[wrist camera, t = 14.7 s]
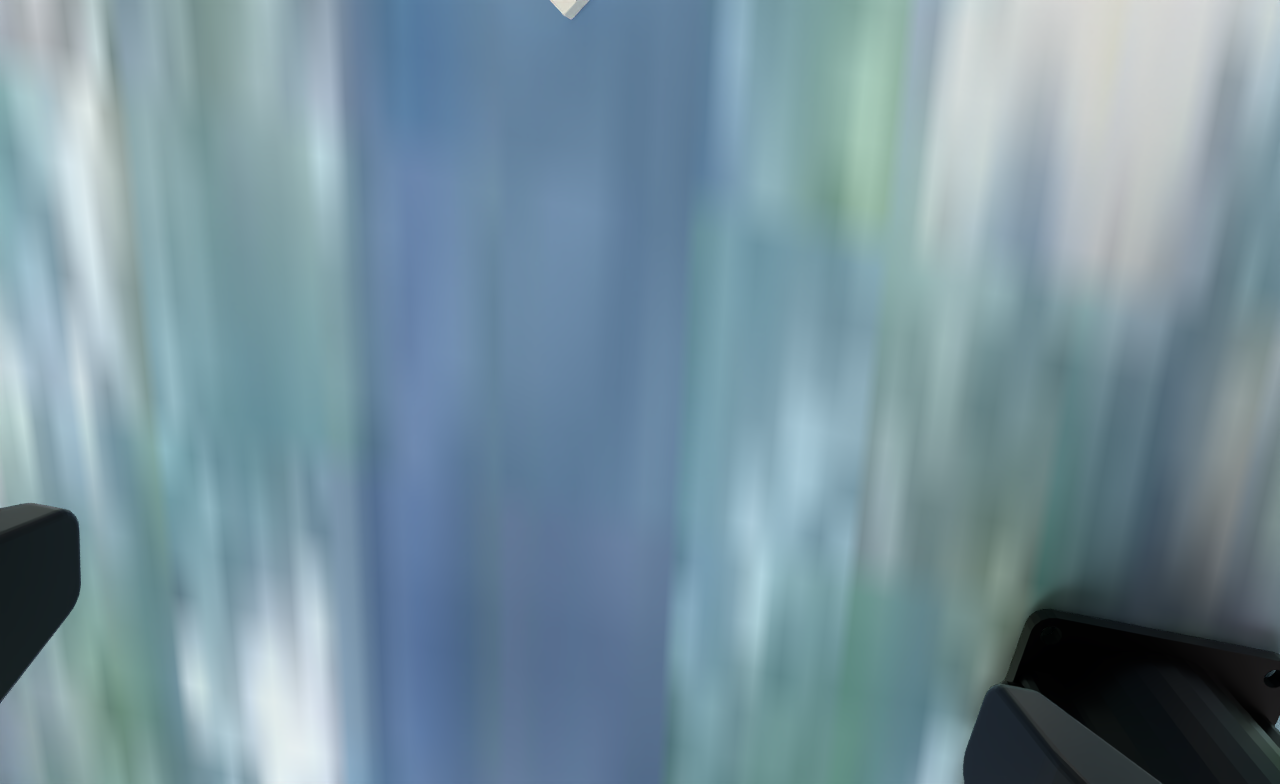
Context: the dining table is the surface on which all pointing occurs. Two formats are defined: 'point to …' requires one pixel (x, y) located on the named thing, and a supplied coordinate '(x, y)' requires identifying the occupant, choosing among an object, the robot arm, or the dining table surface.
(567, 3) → the tray
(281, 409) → the dining table surface
